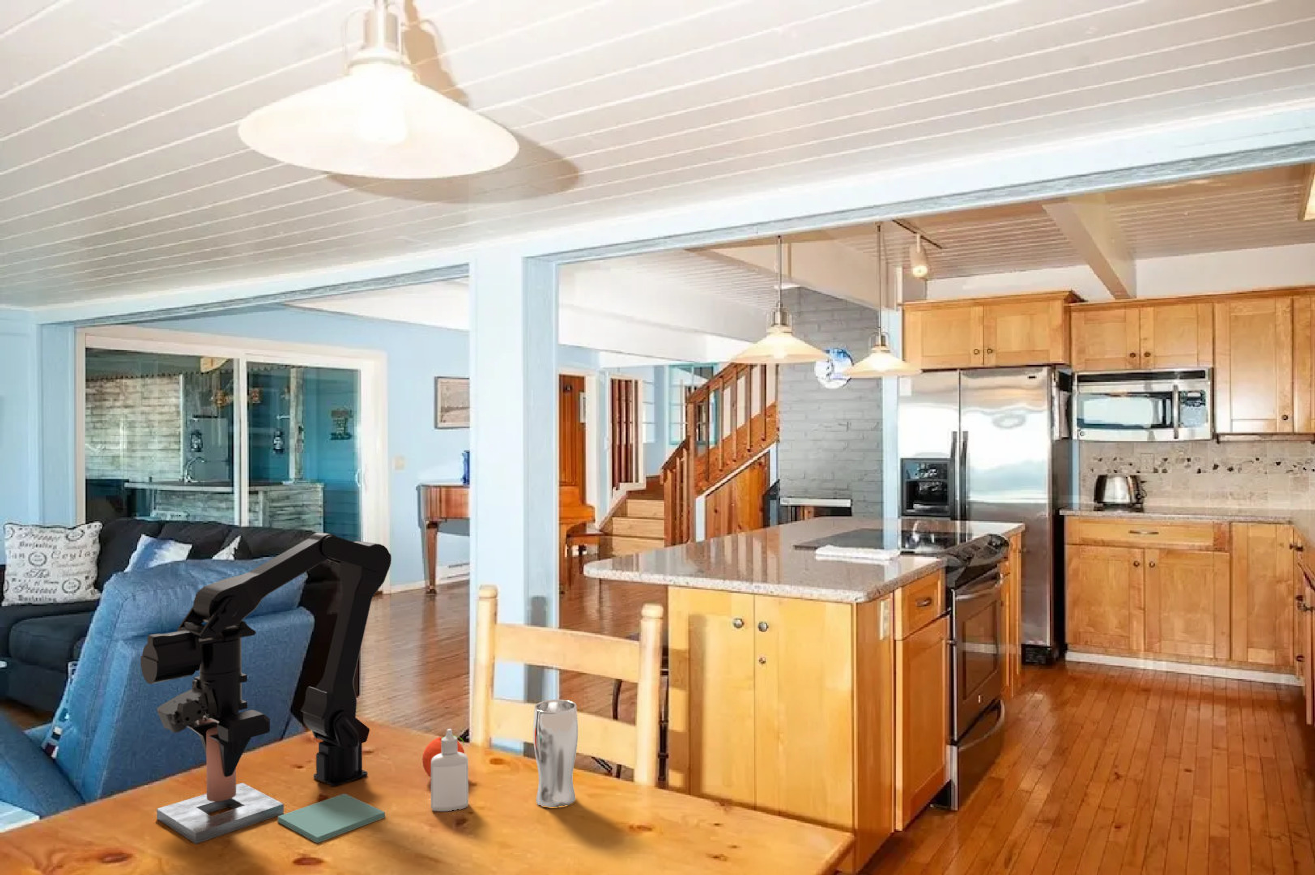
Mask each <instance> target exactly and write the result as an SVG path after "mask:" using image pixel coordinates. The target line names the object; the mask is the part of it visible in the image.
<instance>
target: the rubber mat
mask: <svg viewBox="0 0 1315 875" xmlns="http://www.w3.org/2000/svg"><path fill="white" fill-rule="evenodd" d="M384 818H386V811H384V810H381V809H379V808H377V807H374V806H372V805H370V804H368V803H366V802H364V801H362V800H360V799H358V798H355V797H353V796H350V795H349V794H347V793H342V794H338V795H336V796H333V797H330V798H328V799H324V800H321V801H319V802H315V803H312V804H310V805H306V806H304V807H301V808H299V809H296V810H292V811H290V812H287V813H284V814H282V815H279V816H277V823H279V824H281V825H283V826H284V827H287V828H289V829H291V830H292V831H294V832H296V833H298V834H299V835H302V836H304V837H305V838H307V839H309V840H310V841H313V842H314V843H317V844H319V843H321V842H324V841H326V840H330V839H332V838H335V837H337V836H339V835H342V834H345V833H348V832H350V831H353V830H355V829H358V828H360V827H364V826H366V825H368V824H371V823H374V822H376V821H378V820H381V819H384Z"/></svg>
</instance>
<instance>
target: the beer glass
mask: <svg viewBox="0 0 1315 875" xmlns="http://www.w3.org/2000/svg"><path fill="white" fill-rule="evenodd" d="M577 711H578V710H577V704H576V702H574V701H572V700H567V699H548V700H543V701H540V702H538V703H536V704H535V705H534V715H533V727H532V734H533V735H532V737H533V738H532V739H533V741H532V742H533V747H534V754H535V761H536V766H537V773H538V787H537V792H536V799H535V800H536V801H535V802H536V804H537V805H538V806H539V805H541V806H547V807H559V806H565V805H570V804H571V803H573V802H574V801H576V793H575V788H574V783H573V782H574V781H573V780H574V779H573V776H574V769H575V768H574V766H575V760H576V757H577V756H576V755H577V748H578V741H579V740H578V739H579V724H578V712H577ZM574 803H575V802H574ZM574 803H573V804H574ZM541 806H540V807H541ZM570 806H571V805H570Z"/></svg>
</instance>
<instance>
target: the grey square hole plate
mask: <svg viewBox="0 0 1315 875" xmlns="http://www.w3.org/2000/svg"><path fill="white" fill-rule="evenodd" d="M284 805H285V804H284V803H282V802H280V801H279V800H277V799H275V798H273V797H271V796H269V795H267V794H266V793H263V792H261V791H260V790H258V789H256V788H253V787H251V786H250V785H247V784H246V783H244V782H239V783H236V795H235V796H234V797H233V798H230V799H228V800H224V801H209V800H207V793H205V794H201V795H198V796H194V797H192V798H188V799H184V800H181V801H179V802H174V803H172V804H171V803H170V804H168V805H165V806H162V807H158V808H156V819H157V820H158V821H160V822H161V823H163V824H164V825H166V826H167V827H169V828H170V829H173V830H174V831H175V832H176V833H179V834H180V835H181V836H183V837H185V838H186V839H187V840H190V841H191V842H192V843H194V844H195V845H196V844H199V843H202V842H205V841H208V840H211V839H215V838H217V837H220V836H222V835H226V834H229V833H232V832H234V831H238V830H241V829H243V828H247V827H249V826H252V825H254V824H255V825H256V824H258V823H261V822H263V821H266V820H270V819H273V818H276V817H278V816H280V815H283V814H285V813H284V812H285V806H284ZM229 807H230V808H231V809H229V810H227V811H223V812H220V813H218V814H214V815H210V814H211V813H214V812H217V811H220V810H224V809H226V808H229Z"/></svg>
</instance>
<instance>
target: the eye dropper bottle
mask: <svg viewBox="0 0 1315 875" xmlns="http://www.w3.org/2000/svg"><path fill="white" fill-rule="evenodd" d="M455 736H456V735H454V734H453V731H452V728H448V729H446V733H445V736H444V737H443V736H442V737H443V738H442V739H441V752H442V753H440V754H437V755H436V756H434V757H433V758H432V760H431V777H430V809H431V810H432V811H434V812H453V811H452V810H454V811H458V810H457V809H459V810H462V809H465V808H468V806H469V760H468V756H467V754H466V753H465V752H464V753H465V754H464V753H461V752H457V741H458V736H457V737H455Z"/></svg>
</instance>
